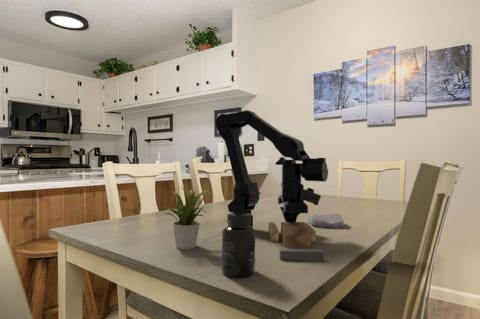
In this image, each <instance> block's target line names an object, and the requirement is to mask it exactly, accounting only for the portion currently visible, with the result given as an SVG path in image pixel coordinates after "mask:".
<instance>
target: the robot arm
mask: <svg viewBox="0 0 480 319" xmlns="http://www.w3.org/2000/svg"><path fill="white" fill-rule="evenodd" d="M214 124H215V128H216V129H217V133H218V134H219V135H220V138H222V139H223V141H224V143H225V146H226V151H227V155H228V159H229V163H230V167H231V171H232V175H233V178H234V186H233V187H234V188H233V199H232V200H231V202H229V204H228V205H227V209H228V212H229V213H234V212H243V213H249V214H251V223H250V226H251V227H252V228H253V227H254V215H253V214H252V211H254V210H255V207H256V205H257V204H258V202H259V201H260V195H261V192H260V191H259V185H258V182H253V181H252V180H251V178H250V176H249V173H248V168H247V164H246V161H245V157H244V153H243V150H242V146H241V143H240V134H241V128H244V127H247V126H249V127H251V128H252V129H253V130H255V131H256V132H258V133H259V134H260V135H261V136H263V137H264V138H265V139H267V140H268V141H270V143H272V145H273V146H274V148H275V150H276V151H278V152H279V153H280V155H281V157H279V159H278V160H277V161H276V162H275V165H276V166H277V165H278V166H279V165H281V183H280V187H281V194H280V195H279V196H278V197H277V204H278V205H281V204H282V206H280V207H279V208H280V211H281V214H282V216H283V219H284V222H297V219H298V217H299V215H300V214H308V213H309V206H308V205H307V203H305V201H306V202H309V203H311V204H313V205H314V206H318V205H319V202H320V200H321V197H322V195H321V194H318V193H316V192H315V189H314V188H311V187H307V188H306V189H305V188H304V184H302V178H303V179H304V180H305V181H306V182H325V183H326V182H327V180H328V177H329V169H328V164H327V161H326V160H327V159H326V158H325V157H317V158H311V157H310V156H309V154H308V153H307V151H306V150H305V147H304V142H303V141H302V140H300V139H298V138H295V137H294V136H291V135H288V134H286V133H284V132H282V131H280V130H279V129H277V128H276V127H274V126H273V125H272V124H270V123H269V122H267V121H266V120H264V119H263V118H262V117H260V116H259V115H257V113H255V112H254V111H252V110H249V109H245V110H242V111H238V112H233V113H232V112H231V113H227V114H226V113H220V114H219V115H218V116H217V118H216V119H215V121H214ZM286 158H289V159H286ZM300 161H301V162H302V163H299V162H300ZM253 229H254V228H253Z"/></svg>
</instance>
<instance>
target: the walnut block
mask: <svg viewBox="0 0 480 319" xmlns="http://www.w3.org/2000/svg"><path fill="white" fill-rule="evenodd" d="M306 223H307V222H305V221H296V222H285V221H280V241H281V243H282V244H283V246H284V247H285V248H286V247H287V248H291V247H292V248H311V246H312V242H311V228H310V227H309V226H308V225H307V224H306Z"/></svg>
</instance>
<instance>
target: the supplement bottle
mask: <svg viewBox="0 0 480 319" xmlns="http://www.w3.org/2000/svg"><path fill="white" fill-rule="evenodd" d="M251 215H252V213H251V214H249V213H243V212H234V213H232V212H229V213H227V220H226V223H227V224H228V225H227V226H225V227H224V228H223V230H222V232H221V233H222V235H221V236H222V239H221V241H222V242H221V272H222V273H223V274H224V275H225V276H227V277H229V278H238V279H240V278H247V277H251V276H252V275H253V274H254V273H255V270H256V230H255V229H254V228H252V227H251V226H250V223H251Z"/></svg>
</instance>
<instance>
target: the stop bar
mask: <svg viewBox="0 0 480 319" xmlns="http://www.w3.org/2000/svg"><path fill="white" fill-rule="evenodd" d="M324 253H325V252H324V250H323V249H297V248H296V249H295V248H293V249H290V248H289V249H285V248H282V249H281V248H280V249H279V259H280V261H281V260H282V261H283V260H284V261H324Z"/></svg>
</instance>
